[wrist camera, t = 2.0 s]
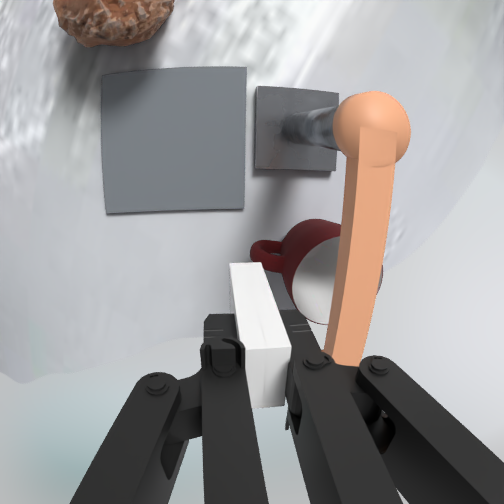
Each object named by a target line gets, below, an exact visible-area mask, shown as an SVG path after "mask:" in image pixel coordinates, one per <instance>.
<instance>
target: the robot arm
mask: <svg viewBox="0 0 504 504" xmlns="http://www.w3.org/2000/svg"><path fill="white" fill-rule="evenodd" d="M229 267H230V314H209V315H208V317H207V318H206V319H205V321H204V343H203V344H202V345H201V348H200V356H201V367H202V368H201V369H200V371H199V372H197V373H196V374H195V375H193V376H191V377H188V378H185V379H180V380H177V379H176V378H175V377H173V376H172V375H170V374H167V373H162V372H155V373H151V374H147V375H145V376H143V377H142V378H141V379H140V380H139V381H138V382H137V383H136V385H135V387H134V388H133V390H132V392H131V393H130V395H129V397H128V399H127V401H126V402H125V404H124V406H123V407H122V409H121V411H120V413H119V414H118V416H117V418H116V420H115V422H114V423H113V425H112V427H111V429H110V430H109V432H108V434H107V436H106V438H105V439H104V441H103V443H102V445H101V446H100V448H99V450H98V452H97V454H96V456H95V457H94V459H93V461H92V463H91V465H90V467H89V468H88V470H87V472H86V474H85V476H84V478H83V479H82V481H81V483H80V485H79V487H78V489H77V491H76V492H75V494H74V496H73V498H72V500H71V502H70V504H168V502H169V499H170V496H171V493H172V490H173V487H174V484H175V481H176V478H177V475H178V472H179V469H180V466H181V463H182V460H183V458H184V454H185V452H186V449H187V446H188V443H189V439H192V438H197V437H200V436H202V444H203V445H202V446H203V479H204V502H205V504H269V503H268V497H267V492H266V487H265V481H264V476H263V470H262V465H261V459H260V453H259V448H258V442H257V437H256V431H255V425H254V419H253V413H252V409H255V408H266V407H277V406H284V405H285V397H286V399H287V403H288V412H287V418H286V424H285V430H288V429H289V425H290V429H291V433H292V436H293V440H294V444H295V448H296V452H297V455H298V459H299V463H300V467H301V470H302V474H303V478H304V482H305V485H306V489H307V492H308V496H309V500H310V504H403V502H402V500H401V498H400V496H399V494H398V492H397V490H398V491H399V492H400V493H401V494H402V496H403V497H404V498H405V499H406V500H407V502H408V503H409V504H504V463H503V462H502V461H501V460H500V459H499V458H498V457H497V456H496V455H495V454H494V453H493V452H492V451H490V449H488V448H487V447H486V446H485V445H484V444H483V443H482V442H481V441H480V440H479V439H478V438H477V437H475V436H474V435H473V434H472V433H471V432H470V431H469V430H468V429H467V428H466V427H465V426H464V425H462V424H461V423H460V422H459V421H458V420H457V419H456V418H455V417H454V416H453V415H451V414H450V413H449V412H448V411H447V410H446V409H445V408H444V407H443V406H441V404H439V403H438V402H437V401H436V400H435V399H434V398H433V397H432V396H431V395H430V394H428V393H427V392H426V391H425V390H424V389H423V388H422V387H421V386H420V385H418V384H417V383H416V382H415V381H414V380H413V379H412V378H411V377H410V376H409V375H407V374H406V373H405V372H404V371H403V370H402V369H401V368H400V367H399V366H397V365H396V364H395V363H394V362H393V361H391V360H390V359H388V358H385V357H383V356H375V355H373V356H368V357H366V358H364V359H362V361H361V362H360V364H359V367H358V366H346V365H340V364H337V363H335V361H334V359H333V358H332V357H331V356H330V355H328V354H327V353H325V352H322V351H321V349H320V347H319V345H318V343H317V340H316V338H315V336H314V334H313V332H312V331H311V328H310V326H309V325H308V322H307V320H306V317H305V316H304V315H303V314H302V313H301V312H299V311H298V310H297V309H295V310H278V308H277V305H276V302H275V300H274V297H273V294H272V291H271V289H270V286H269V283H268V280H267V278H266V275H265V272H264V269H263V267H262V264H261V262H252V263H229ZM383 411H384V412H385V413H384V412H383ZM396 488H397V489H396Z"/></svg>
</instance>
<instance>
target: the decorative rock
mask: <svg viewBox="0 0 504 504" xmlns="http://www.w3.org/2000/svg"><path fill="white" fill-rule="evenodd" d="M174 1H175V0H54V1H53V6H54V9H55V12H56V14H57V17H58V22H59V26H60V27H61V28H62V29H64V30H65V31H66V32H67V33H68V34H69V35H71V36H74V37H75V38H76V40H77V42H78V43H80V44H83V45H84V46H85V47H86V48H87V47H94V46H97V45H101V44H103V45H110V46H128V45H131V44H135V43H139V42H142V41H145V40H148V39H150V38H151V37H152V36H153V35H154V34H155V32H156V31H157V30H158V29H159V28H160V27H161V25H162V24H163V23H164V22H165V20H166V19H167V18H168V17H169V16H170V15H171V13H172V11H173V8H174V4H173V3H174Z"/></svg>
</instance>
